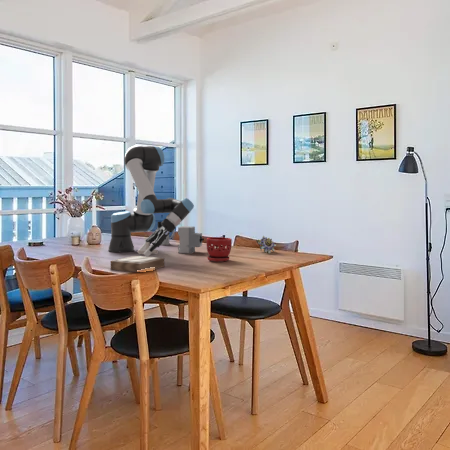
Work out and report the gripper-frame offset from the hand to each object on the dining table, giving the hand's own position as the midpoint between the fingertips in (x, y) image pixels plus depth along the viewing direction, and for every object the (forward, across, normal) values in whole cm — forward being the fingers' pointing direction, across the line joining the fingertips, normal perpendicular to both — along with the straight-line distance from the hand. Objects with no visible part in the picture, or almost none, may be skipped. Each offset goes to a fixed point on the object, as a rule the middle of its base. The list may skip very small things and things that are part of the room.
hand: (142, 254), depth 242 cm
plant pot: (-23, -14, -29) cm, 40 cm away
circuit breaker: (-23, +21, -28) cm, 42 cm away
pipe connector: (+1, 0, -5) cm, 5 cm away
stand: (+8, -15, +2) cm, 17 cm away
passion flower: (-49, 0, -55) cm, 74 cm away
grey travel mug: (-22, +63, -28) cm, 73 cm away
